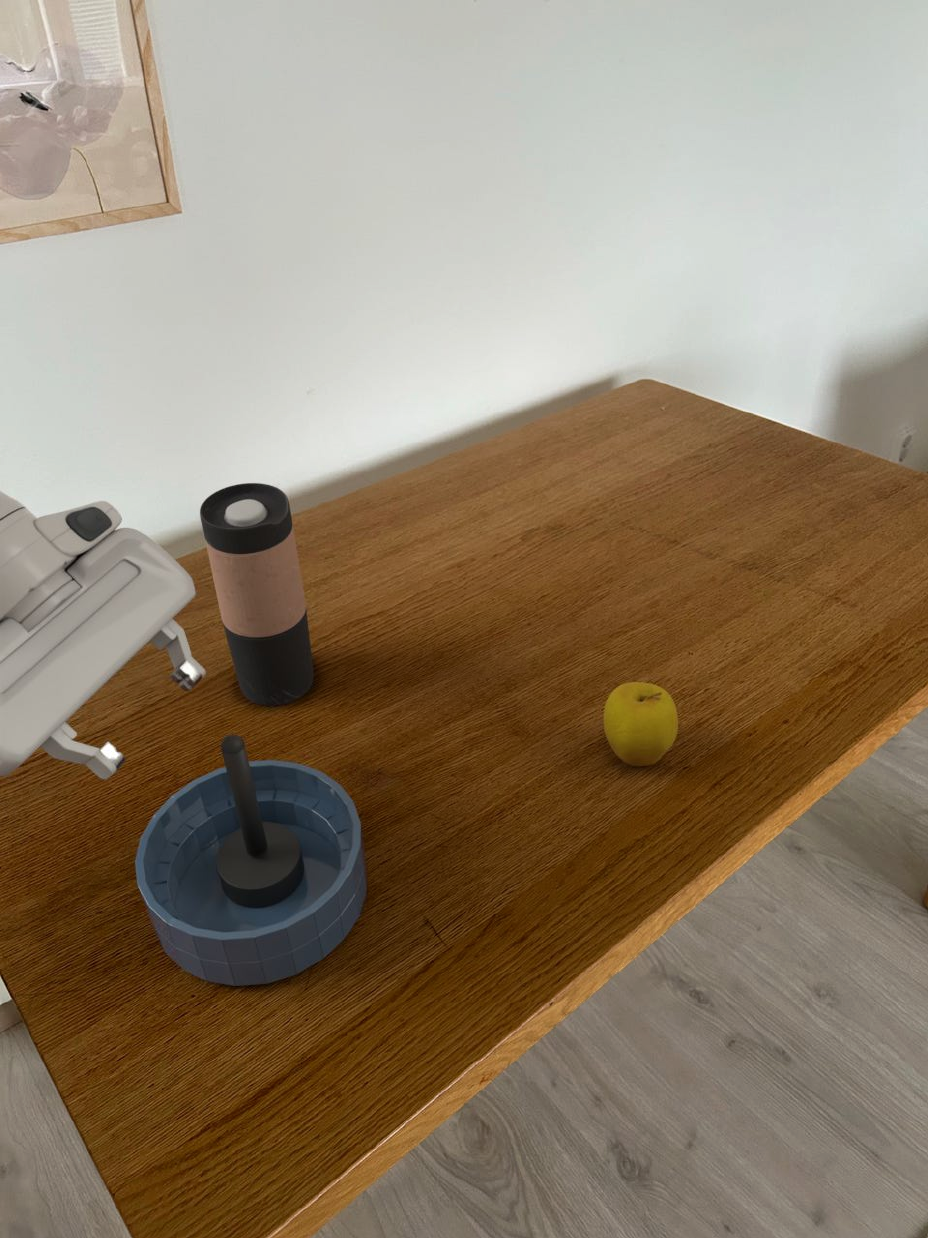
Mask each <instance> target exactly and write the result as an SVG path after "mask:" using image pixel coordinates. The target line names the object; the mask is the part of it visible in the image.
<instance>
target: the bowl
mask: <svg viewBox="0 0 928 1238" xmlns="http://www.w3.org/2000/svg"><path fill="white" fill-rule="evenodd" d="M248 761H249V766H250V770H251V775H252V779H253V783H254V788H255V792H256V797H257V801H258V806H259V810H260V814H261V819H262V822H274V823H278V824H282V825H284V826H286V827H287V828H289V829H290V830H291V831H293V832H294V834H295V835H296V836H297V838H298V840H299V842H300V847H301V852H302V857H303V862H304V874H303V878H302V880H301V882H300V884H299V886H298V887H297V889H296V890H295V891H294V892H293V893H292V894H291V895H290V896H289V897H287V898H286V899H285V900H283V901H281V902H279V903H277V904H275V905H272V906H268V907H264V908H248V907H243V906H241V905H238V904H236V903H234V902H233V901H232V900H230V899H229V898H228V897H227V895H226V894H225V893H224V890H223V888H222V885H221V881H220V877H219V874H218V870H217V867H216V857H217V853H218V851H219V848H220V846H221V845H222V843H223V842H224V840H225V839H226V838H227V837H228V836H229V835H231V834H232V833H233V832H234V831H236V830H238V829H239V828H241V827H240V823H239V819H238V815H237V811H236V807H235V803H234V799H233V795H232V791H231V787H230V783H229V779H228V775H227V771H226V767H225V766H224V767H220V768H217V769H215V770H213V771H211V772H208V773H206V774H204V775H202V776H199V777H198V778H196V779H193V780H192V781H190V782H189V783H187V784H186V785H185V786H184V787H182V788H180V789H179V790H177V791H176V792H175V793H173V794H172V795H171V796H170V797H169V798H168V799H167V800H166V801H165V802H164V803H163V804H162V806H161V807H160V808H158V810H157V811H156V812H155V813H154V814H153V816H152V817H151V818H150V820H149V822H148V824H147V825H146V828H145V829H144V832H143V833H142V835H141V837H140V839H139V843H138V847H137V852H136V855H135V860H134V865H135V874H136V883H137V887H138V890H139V893H140V896H141V899H142V902H143V904H144V906H145V909H146V912H147V915H148V917H149V920H150V922H151V926H152V928H153V931H154V933H155V935H156V938H157V939H158V941H159V944H160V945H161V947H162V949H163V951H164V954H166V955H167V956H168V957H169V958H170V959H171V960H172V961H174V962H175V964H177V965H178V967H180V968H181V969H182V970H183V971H184V972H186V973H189V974H190V975H193V976H195V977H197V978H199V979H202V980H204V981H205V982H209V983H215V984H222V985H228V986H233V987H243V986H254V985H255V986H257V985H268V984H271V983H274V982H277V981H280V980H284V979H286V978H290V977H294V976H296V975H298V974H300V973H302V972H303V971H305V970H306V969H308V968H310V967H312V966H313V965H315V964H317V963H319V962H320V961H322V960H323V959H325V958H326V957H327V956H328V955H329V954H330V953H331V952H332V951H333V950H334V949H335V948H336V947H338V946H339V945H340V944H341V943H342V942H343V941H344V940H345V939H346V937H347V936H348V934H349V933H350V931H351V929H352V928H353V926H354V925H355V924H356V922H357V920H358V919H359V917H360V915H361V913H362V909H363V906H364V903H365V901H366V900H365V899H366V897H367V892H368V875H367V874H368V868H367V861H366V853H365V845H364V838H363V829H362V822H361V819H360V816H359V814H358V810H357V807H356V804H355V802H354V800H353V799H352V798H351V797H350V795H349V794H348V793H347V791H346V790H345V789H344V787H343V786H342V785H341V784H340V783H338V782H337V781H336V780H334V779H333V778H331V777H330V776H329V775H327V774H325V773H324V772H322V771H321V770H318V769H315V768H312V767H311V766H307V765H305V764H302V763H298V762H292V761H285V760H284V761H283V760H277V759H266V760H252V761H250V760H248Z"/></svg>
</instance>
